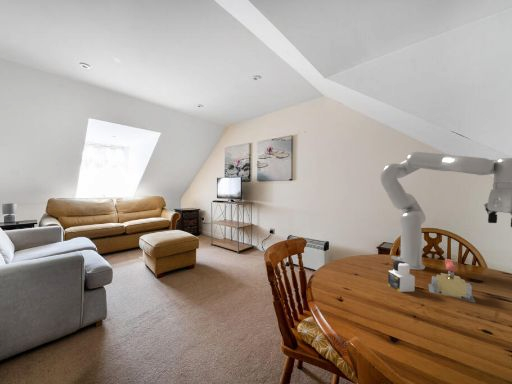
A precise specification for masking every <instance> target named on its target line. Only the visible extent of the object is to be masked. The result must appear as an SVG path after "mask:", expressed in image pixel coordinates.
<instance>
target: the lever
mask: <svg viewBox="0 0 512 384" xmlns="http://www.w3.org/2000/svg"><path fill="white" fill-rule="evenodd" d="M444 260H445V262H444V263H445V264H444V265H445V270H446V271H447V272H448V271H452V272H454V273H455V272H457V265H456V264H454V262H453V259H449V258H445V259H444Z"/></svg>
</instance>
